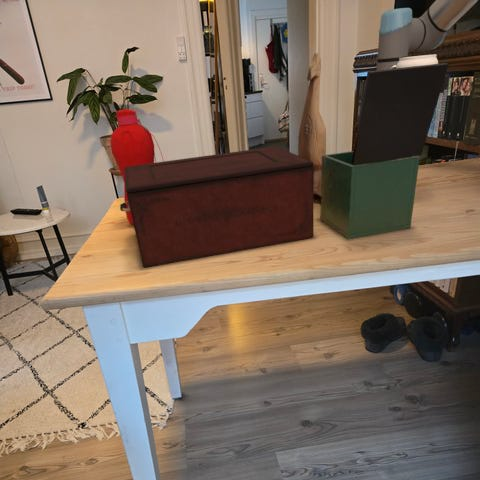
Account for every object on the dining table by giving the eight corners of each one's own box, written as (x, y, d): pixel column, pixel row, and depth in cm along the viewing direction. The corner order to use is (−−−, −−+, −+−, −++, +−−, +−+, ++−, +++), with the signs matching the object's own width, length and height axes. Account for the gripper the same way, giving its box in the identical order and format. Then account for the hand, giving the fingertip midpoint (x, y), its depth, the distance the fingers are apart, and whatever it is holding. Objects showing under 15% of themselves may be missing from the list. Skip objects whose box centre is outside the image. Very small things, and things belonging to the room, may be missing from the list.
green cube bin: (320, 219, 92) (321, 155, 85) (376, 210, 94) (381, 147, 87) (348, 239, 80) (351, 166, 73) (410, 227, 83) (420, 156, 75)
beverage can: (392, 118, 95) (398, 57, 89) (430, 117, 92) (439, 53, 86) (388, 123, 89) (394, 58, 83) (429, 122, 86) (439, 54, 80)
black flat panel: (367, 71, 63) (369, 72, 62) (446, 62, 65) (449, 64, 64) (351, 163, 73) (353, 165, 73) (419, 153, 76) (421, 155, 75)
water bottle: (171, 224, 98) (150, 108, 85) (126, 228, 99) (98, 113, 86) (175, 212, 106) (157, 105, 93) (134, 216, 107) (109, 109, 94)
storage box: (285, 207, 102) (283, 142, 94) (323, 236, 83) (325, 158, 75) (129, 232, 96) (113, 165, 88) (131, 270, 76) (111, 188, 69)
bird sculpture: (283, 201, 106) (278, 56, 90) (299, 190, 115) (297, 55, 98) (324, 204, 101) (327, 50, 85) (338, 191, 110) (343, 49, 93)
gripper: (439, 96, 102) (471, 103, 83) (353, 103, 106) (365, 112, 86) (444, 60, 99) (479, 60, 79) (355, 69, 102) (367, 71, 83)
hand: (419, 87), depth 83 cm, fingers closed on beverage can, 8 cm apart
